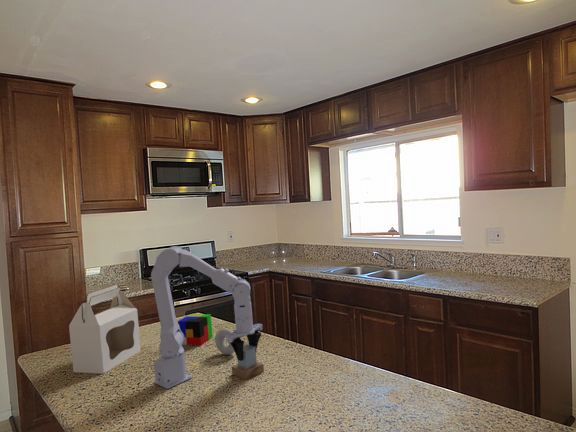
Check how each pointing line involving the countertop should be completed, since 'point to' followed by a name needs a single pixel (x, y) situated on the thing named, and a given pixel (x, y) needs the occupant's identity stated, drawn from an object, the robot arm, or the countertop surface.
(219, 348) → the donut
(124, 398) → the countertop surface
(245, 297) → the robot arm
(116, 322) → the gable box
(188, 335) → the puzzle toy
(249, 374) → the walnut block
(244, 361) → the grey block
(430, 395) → the countertop surface
